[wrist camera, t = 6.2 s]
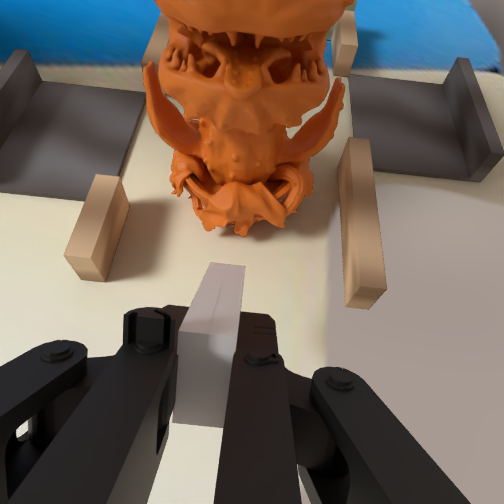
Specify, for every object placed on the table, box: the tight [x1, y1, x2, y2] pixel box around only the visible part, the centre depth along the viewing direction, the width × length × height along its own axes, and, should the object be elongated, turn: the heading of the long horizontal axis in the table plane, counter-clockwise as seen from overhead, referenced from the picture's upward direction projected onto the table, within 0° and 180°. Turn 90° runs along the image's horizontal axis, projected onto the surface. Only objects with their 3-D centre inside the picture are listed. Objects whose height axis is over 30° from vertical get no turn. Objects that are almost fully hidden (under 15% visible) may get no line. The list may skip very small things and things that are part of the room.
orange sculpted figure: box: [143, 0, 355, 237], centre depth 19 cm, size 11×11×18 cm
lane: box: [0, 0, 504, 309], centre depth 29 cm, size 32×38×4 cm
